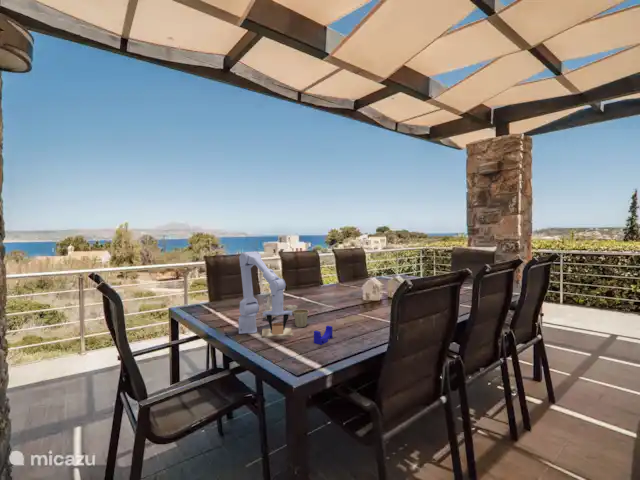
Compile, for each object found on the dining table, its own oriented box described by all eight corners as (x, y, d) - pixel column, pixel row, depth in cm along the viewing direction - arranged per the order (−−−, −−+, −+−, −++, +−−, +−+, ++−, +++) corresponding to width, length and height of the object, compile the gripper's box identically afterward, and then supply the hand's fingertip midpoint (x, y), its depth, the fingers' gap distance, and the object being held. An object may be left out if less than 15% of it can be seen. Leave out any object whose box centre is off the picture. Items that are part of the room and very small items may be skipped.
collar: (272, 334, 163) (272, 326, 163) (271, 330, 169) (271, 323, 169) (283, 334, 164) (283, 326, 164) (282, 330, 170) (282, 322, 170)
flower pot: (294, 328, 186) (294, 313, 186) (291, 324, 195) (291, 309, 195) (310, 327, 188) (310, 312, 188) (306, 323, 197) (306, 308, 197)
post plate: (261, 338, 171) (261, 327, 170) (262, 330, 182) (262, 320, 182) (292, 336, 173) (292, 326, 173) (291, 329, 185) (291, 319, 185)
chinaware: (270, 325, 197) (272, 298, 196) (251, 317, 207) (253, 292, 206) (300, 315, 220) (303, 291, 218) (283, 309, 230) (284, 286, 228)
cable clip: (321, 345, 161) (321, 333, 161) (313, 343, 164) (313, 331, 164) (334, 338, 171) (334, 327, 171) (327, 336, 174) (327, 325, 173)
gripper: (262, 305, 161) (262, 332, 162) (292, 304, 163) (292, 331, 164) (263, 302, 168) (263, 328, 169) (291, 301, 170) (291, 327, 171)
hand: (277, 329), depth 167 cm, fingers closed on collar, 6 cm apart
